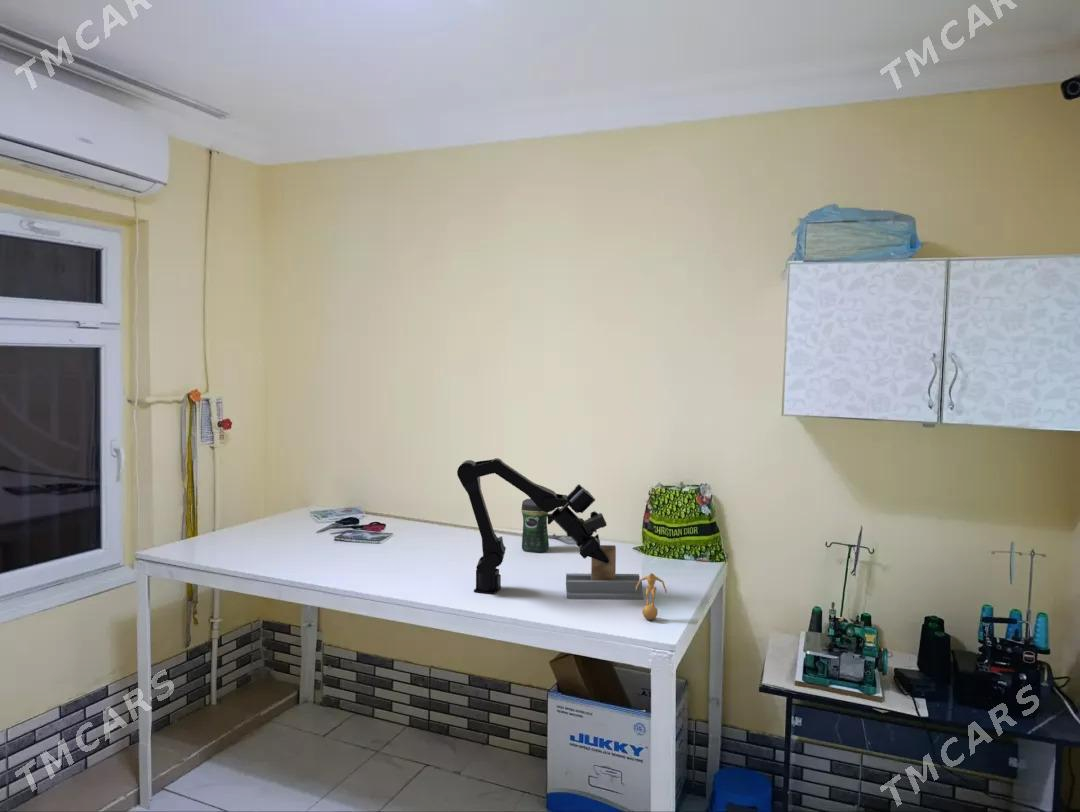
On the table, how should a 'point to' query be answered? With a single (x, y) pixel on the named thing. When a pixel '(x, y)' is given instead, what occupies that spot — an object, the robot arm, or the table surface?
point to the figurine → (650, 609)
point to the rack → (603, 587)
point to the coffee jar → (534, 527)
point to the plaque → (604, 565)
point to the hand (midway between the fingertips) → (607, 560)
